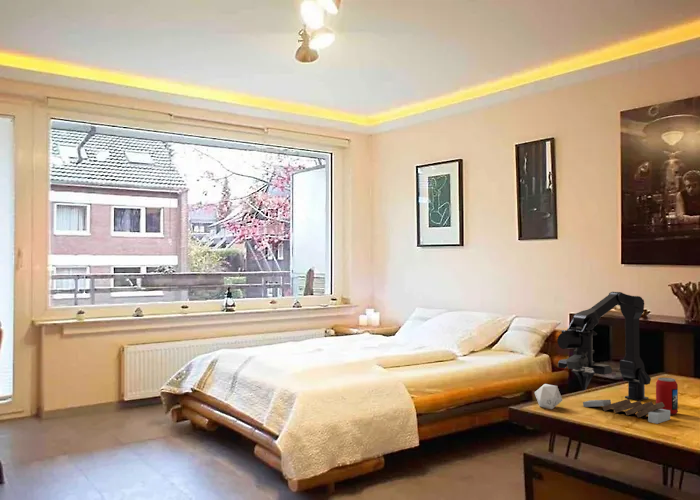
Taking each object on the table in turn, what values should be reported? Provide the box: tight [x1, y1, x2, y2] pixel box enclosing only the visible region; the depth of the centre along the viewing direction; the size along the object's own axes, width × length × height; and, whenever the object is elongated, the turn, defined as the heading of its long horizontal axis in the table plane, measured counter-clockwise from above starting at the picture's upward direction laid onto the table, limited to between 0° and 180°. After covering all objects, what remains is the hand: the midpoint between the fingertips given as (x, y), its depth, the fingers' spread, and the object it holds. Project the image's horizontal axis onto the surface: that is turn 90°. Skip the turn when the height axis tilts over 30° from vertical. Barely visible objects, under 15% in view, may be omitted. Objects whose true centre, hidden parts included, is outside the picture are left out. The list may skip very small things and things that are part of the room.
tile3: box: [624, 401, 655, 416], centre depth 209 cm, size 2×5×8 cm
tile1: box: [602, 398, 632, 412], centre depth 215 cm, size 2×5×8 cm
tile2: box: [612, 400, 643, 414], centre depth 212 cm, size 2×5×8 cm
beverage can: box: [655, 377, 679, 416], centre depth 213 cm, size 7×7×12 cm
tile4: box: [635, 402, 665, 419], centre depth 206 cm, size 2×5×8 cm
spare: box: [582, 399, 612, 408], centre depth 221 cm, size 2×5×8 cm
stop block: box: [647, 409, 671, 425], centre depth 203 cm, size 9×3×3 cm, turn 128°
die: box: [533, 383, 563, 410], centre depth 221 cm, size 8×9×10 cm
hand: (584, 389), depth 225 cm, fingers closed
